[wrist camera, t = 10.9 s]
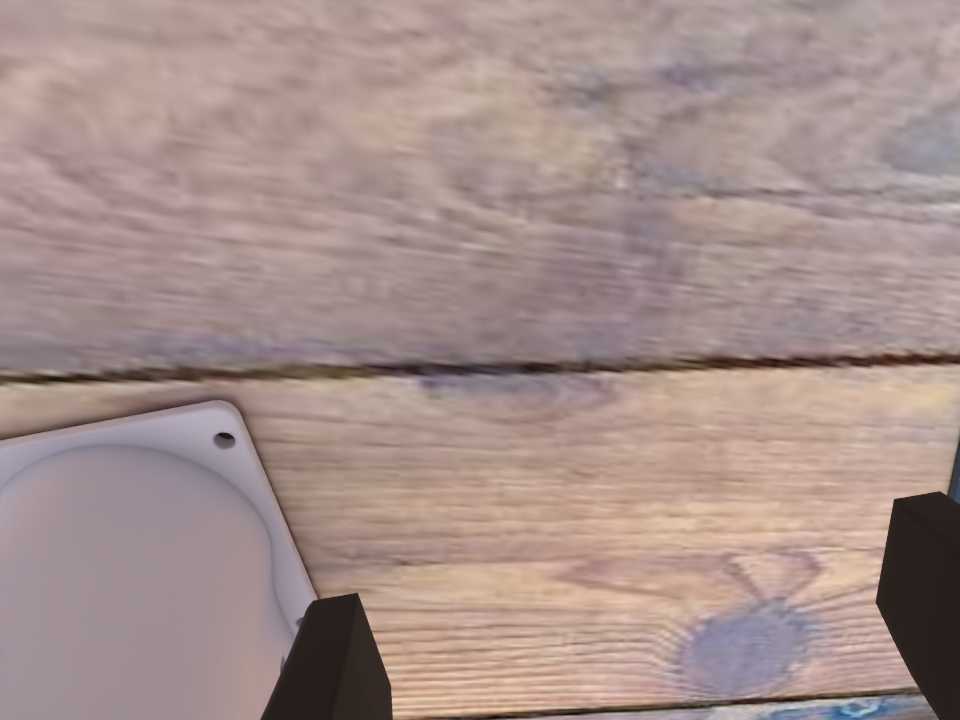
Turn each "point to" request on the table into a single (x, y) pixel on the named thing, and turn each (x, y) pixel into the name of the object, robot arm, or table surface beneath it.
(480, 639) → the table surface
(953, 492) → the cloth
